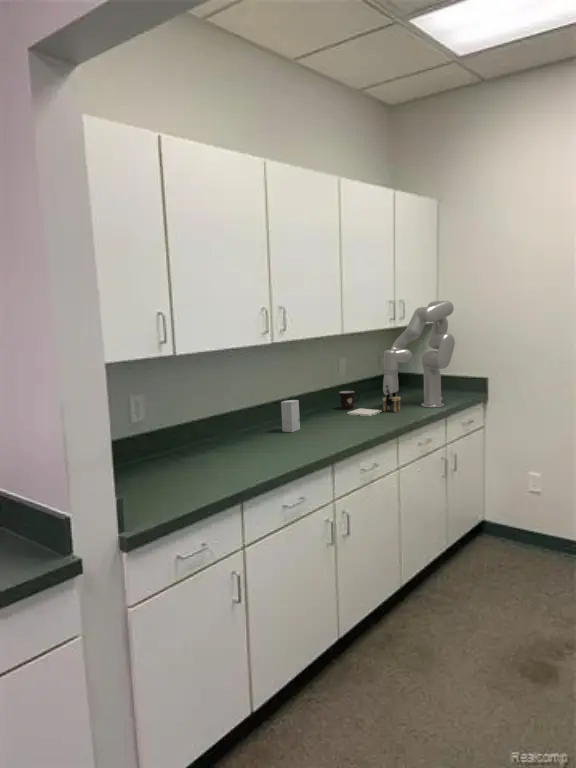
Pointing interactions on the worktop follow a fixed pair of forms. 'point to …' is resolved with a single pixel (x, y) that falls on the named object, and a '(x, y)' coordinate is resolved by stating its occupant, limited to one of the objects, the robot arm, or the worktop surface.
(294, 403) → the skincare box
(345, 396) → the coffee mug
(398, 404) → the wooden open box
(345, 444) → the worktop surface
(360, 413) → the white board
